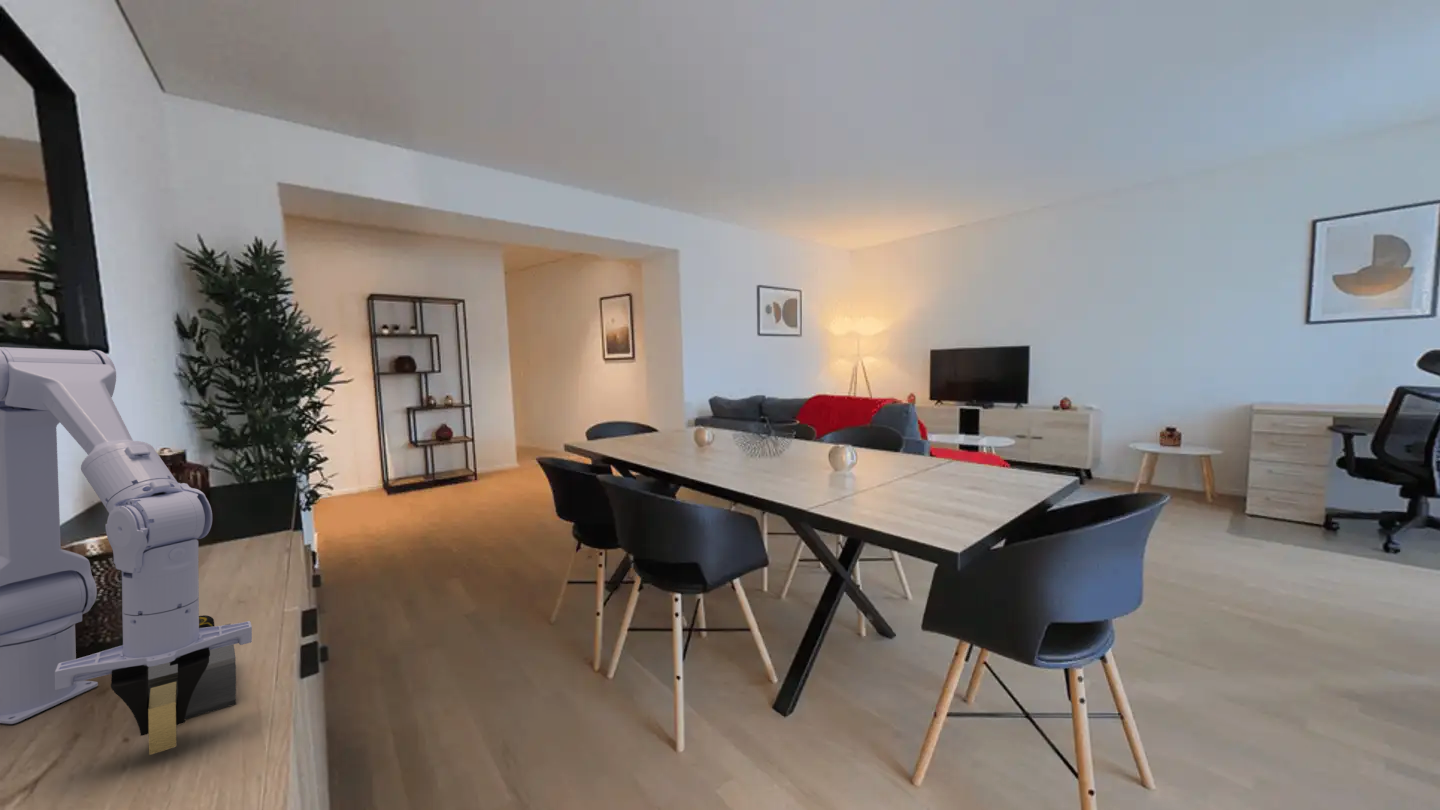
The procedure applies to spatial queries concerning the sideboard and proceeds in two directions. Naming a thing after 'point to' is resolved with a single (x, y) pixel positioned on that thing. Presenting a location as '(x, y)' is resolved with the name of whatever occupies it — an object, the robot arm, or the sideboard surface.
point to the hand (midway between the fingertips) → (163, 725)
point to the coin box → (203, 681)
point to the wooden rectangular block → (162, 718)
